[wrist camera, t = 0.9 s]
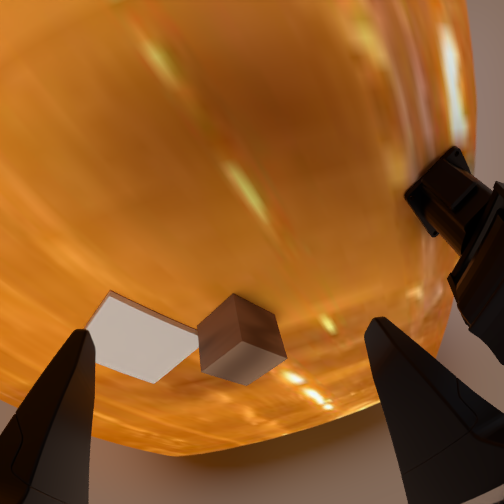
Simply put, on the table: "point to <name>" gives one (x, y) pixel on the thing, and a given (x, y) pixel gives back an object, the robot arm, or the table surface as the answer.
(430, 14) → the table surface
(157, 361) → the stone coaster
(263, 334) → the walnut cube
